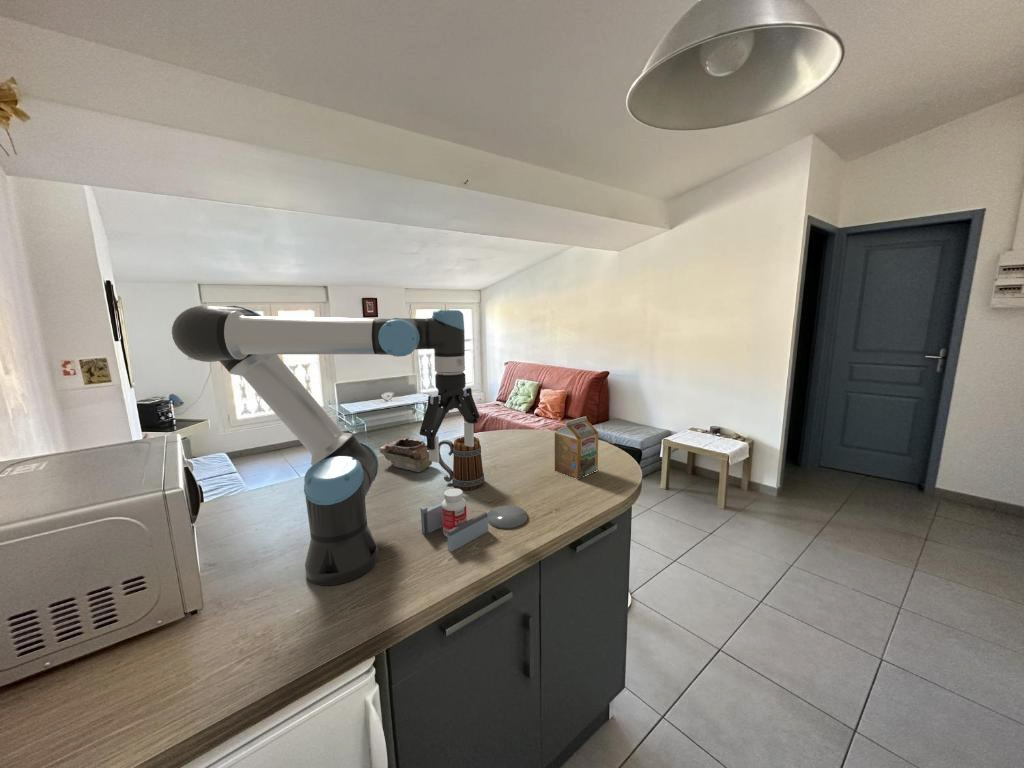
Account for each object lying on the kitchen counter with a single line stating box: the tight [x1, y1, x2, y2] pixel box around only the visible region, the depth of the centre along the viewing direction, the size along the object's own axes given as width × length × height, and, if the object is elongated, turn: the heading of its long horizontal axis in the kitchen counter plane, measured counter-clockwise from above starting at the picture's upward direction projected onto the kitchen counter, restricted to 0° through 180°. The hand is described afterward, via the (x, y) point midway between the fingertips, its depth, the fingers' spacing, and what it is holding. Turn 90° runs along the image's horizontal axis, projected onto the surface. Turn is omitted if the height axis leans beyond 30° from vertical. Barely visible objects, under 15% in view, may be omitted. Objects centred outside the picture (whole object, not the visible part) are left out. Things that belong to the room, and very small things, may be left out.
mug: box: [438, 436, 485, 491], centre depth 129 cm, size 16×11×15 cm
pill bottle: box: [441, 487, 468, 538], centre depth 100 cm, size 6×6×11 cm
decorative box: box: [379, 437, 433, 473], centre depth 144 cm, size 13×20×10 cm, turn 56°
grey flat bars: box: [420, 502, 489, 553], centre depth 100 cm, size 12×12×7 cm
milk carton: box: [554, 416, 599, 480], centre depth 136 cm, size 11×11×19 cm
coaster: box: [487, 504, 528, 530], centre depth 107 cm, size 11×11×1 cm
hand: (452, 453), depth 102 cm, fingers open, 13 cm apart
